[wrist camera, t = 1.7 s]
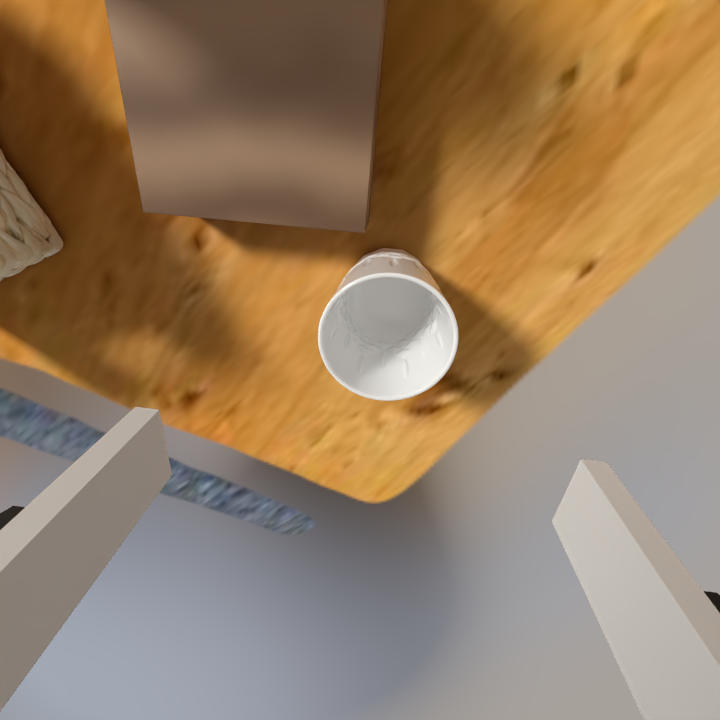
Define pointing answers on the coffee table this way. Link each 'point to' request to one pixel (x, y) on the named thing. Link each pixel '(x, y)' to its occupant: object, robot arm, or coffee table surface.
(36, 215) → the storage basket
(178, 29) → the walnut block
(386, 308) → the white cup
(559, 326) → the coffee table surface
